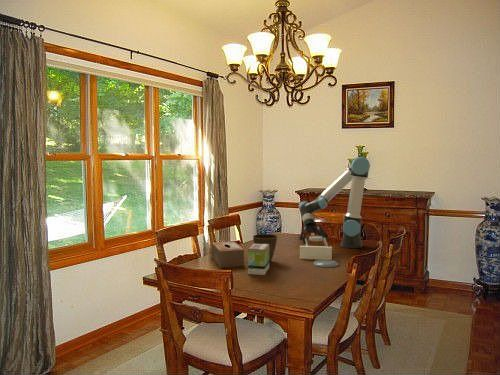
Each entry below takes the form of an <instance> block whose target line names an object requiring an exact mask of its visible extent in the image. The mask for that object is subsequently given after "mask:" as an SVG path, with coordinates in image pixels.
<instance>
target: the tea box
mask: <svg viewBox="0 0 500 375" xmlns="http://www.w3.org/2000/svg"><path fill="white" fill-rule="evenodd" d="M247 257H248V259H247V263H248V265H247V274H248V275H256V276H257V275H258V276H265V275H266V274H267V272H268V270H269V269H270V262H269V244H254V243H253V244H251V245H250V247H248V255H247Z"/></svg>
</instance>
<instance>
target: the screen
mask: <svg viewBox="0 0 500 375" xmlns="http://www.w3.org/2000/svg"><path fill="white" fill-rule="evenodd" d="M332 258H333V247H332V246H327V247H325V245H324V246H323V245H322V246H310V245H308V246H305V245H300V246H299V259H300V260H332V261H333V259H332Z"/></svg>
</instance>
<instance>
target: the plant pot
mask: <svg viewBox="0 0 500 375" xmlns="http://www.w3.org/2000/svg"><path fill="white" fill-rule="evenodd" d="M252 237H253V244H269V263H271V262H272V259H273V257H274V255H275V250H276V245H277V240H278V236H277V235H276V234H269V233H260V234H254V235H253V236H252Z"/></svg>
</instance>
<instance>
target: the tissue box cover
mask: <svg viewBox="0 0 500 375" xmlns="http://www.w3.org/2000/svg"><path fill="white" fill-rule="evenodd" d="M211 258H212V259H213V260H214V261H215V263H216V264H217V265H218V266H219V267H220V268H230V267H243V266H245V249H244V248H242V246H240V245H239V244H237V242H235V241H220V242H219V241H217V242H211Z"/></svg>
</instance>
